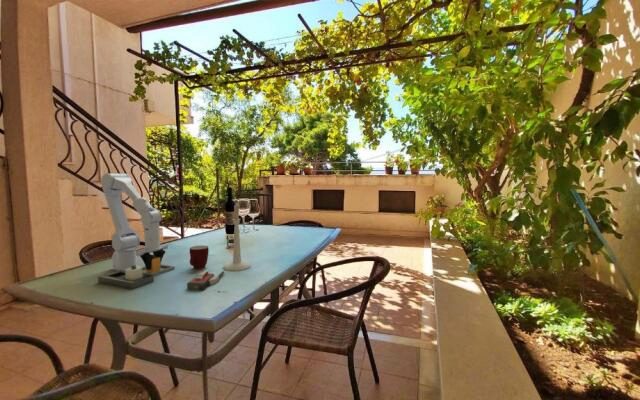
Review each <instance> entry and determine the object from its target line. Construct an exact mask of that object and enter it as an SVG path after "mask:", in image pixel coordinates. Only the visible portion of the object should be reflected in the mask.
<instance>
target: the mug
mask: <svg viewBox="0 0 640 400" xmlns="http://www.w3.org/2000/svg"><path fill="white" fill-rule="evenodd" d="M209 250H210V248H209V246H208V245H194V246H191V247H189V256H190V258H189V264H190V266H192V268H194V269H195V270H201V269H205V268H206V266H207V264H208V258H209Z"/></svg>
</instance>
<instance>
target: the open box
mask: <svg viewBox="0 0 640 400" xmlns="http://www.w3.org/2000/svg"><path fill="white" fill-rule="evenodd" d="M154 277H155V276H153V275H147V274H142V277H141V278H138V279H136V280H127V279H126V276H125V271H123V270H119V271H118V270H114V271H113V272H109V273H106V274H102V275H98V277H97V279H98V280H97V282H98V283H99V284H104V285H108V286H109V285H110V286H114V287H119V288H124V289H129V290H134V289H137V288H141V287H143V286H145V285H148V284H151V283H154V281H155V278H154Z"/></svg>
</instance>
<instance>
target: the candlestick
mask: <svg viewBox="0 0 640 400" xmlns="http://www.w3.org/2000/svg"><path fill="white" fill-rule="evenodd" d="M239 207H240V206H239V204H234V205H233V210H234V211H233V214H234V218H232V221H233V224H234V231H233V255H232V256H233V259H232V261H228V262H226V263H225V264H224V265H223V266H222V269H223V271H227V272H241V271H240V270H242V271H246V270H249V269H251V267H252V264H251V263H250V262H249V261H247V260H242V256H241V243H240V242H241V240H240V227H239V224H240V221H241V218H240V217H239V215H240V212H239V210H240V209H239ZM248 268H249V269H248ZM245 269H246V270H245Z"/></svg>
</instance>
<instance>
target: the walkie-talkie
mask: <svg viewBox="0 0 640 400" xmlns="http://www.w3.org/2000/svg"><path fill="white" fill-rule="evenodd" d="M224 273H225V270H223V271H221V272H220V273H219V274H217V275H215V274H214V273H209V271H201V272H200V273H198V274H197V275H196V276H195V277H193V279H191V280H189V281H187V283H186V289H187V290H189V291H191V290H193V291H203V290H205V289H206V288H207V287H208V286H211V285H215V284H217V283H218V282H219V281H220V278H221V277H222V276H223V274H224Z"/></svg>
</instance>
